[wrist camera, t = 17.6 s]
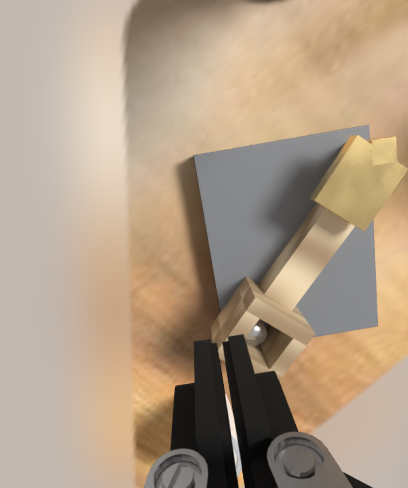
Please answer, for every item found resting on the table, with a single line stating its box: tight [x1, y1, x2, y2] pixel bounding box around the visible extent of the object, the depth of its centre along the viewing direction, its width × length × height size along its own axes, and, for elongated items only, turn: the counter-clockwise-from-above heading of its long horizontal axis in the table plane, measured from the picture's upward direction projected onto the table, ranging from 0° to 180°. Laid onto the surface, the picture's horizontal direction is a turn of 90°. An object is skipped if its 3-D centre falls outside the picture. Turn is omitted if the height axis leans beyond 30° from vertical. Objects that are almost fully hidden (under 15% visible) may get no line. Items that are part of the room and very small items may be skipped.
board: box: [194, 125, 378, 337], centre depth 32 cm, size 19×15×2 cm
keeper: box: [309, 135, 408, 231], centre depth 29 cm, size 7×5×6 cm
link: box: [211, 203, 354, 380], centre depth 30 cm, size 18×6×5 cm, turn 147°
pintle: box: [245, 319, 267, 345], centre depth 32 cm, size 2×2×6 cm
